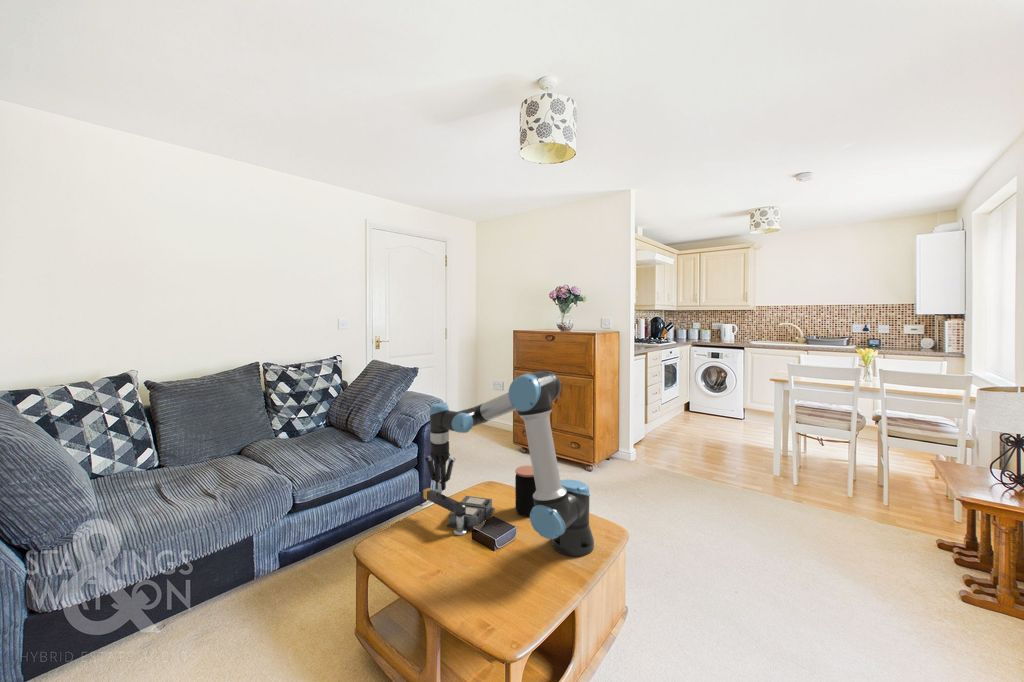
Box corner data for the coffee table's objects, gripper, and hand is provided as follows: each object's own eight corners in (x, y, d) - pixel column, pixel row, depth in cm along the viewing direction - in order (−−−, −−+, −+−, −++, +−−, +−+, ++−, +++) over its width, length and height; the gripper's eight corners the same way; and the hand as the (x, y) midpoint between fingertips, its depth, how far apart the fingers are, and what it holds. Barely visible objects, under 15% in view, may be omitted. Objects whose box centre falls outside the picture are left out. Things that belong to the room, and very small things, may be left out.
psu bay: (494, 510, 176) (494, 497, 175) (479, 531, 158) (479, 517, 158) (464, 506, 180) (464, 493, 179) (446, 526, 162) (446, 512, 162)
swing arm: (468, 513, 158) (468, 504, 157) (459, 517, 154) (459, 508, 154) (430, 495, 174) (430, 487, 173) (422, 498, 170) (421, 490, 170)
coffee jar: (537, 519, 168) (537, 476, 167) (512, 515, 171) (512, 473, 170) (542, 507, 178) (542, 466, 177) (519, 504, 181) (519, 464, 180)
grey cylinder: (468, 529, 160) (468, 512, 159) (463, 536, 155) (463, 518, 154) (457, 528, 161) (456, 510, 161) (451, 534, 156) (451, 516, 156)
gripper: (458, 439, 170) (459, 495, 172) (429, 437, 174) (431, 491, 175) (450, 445, 163) (451, 502, 164) (421, 442, 167) (422, 499, 168)
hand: (441, 497), depth 170 cm, fingers closed
